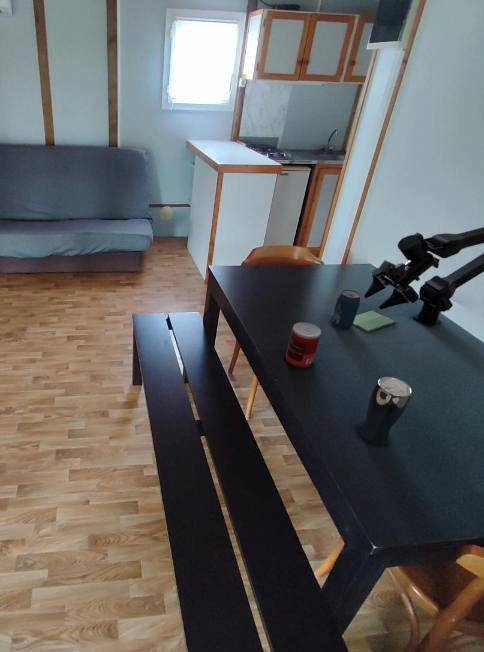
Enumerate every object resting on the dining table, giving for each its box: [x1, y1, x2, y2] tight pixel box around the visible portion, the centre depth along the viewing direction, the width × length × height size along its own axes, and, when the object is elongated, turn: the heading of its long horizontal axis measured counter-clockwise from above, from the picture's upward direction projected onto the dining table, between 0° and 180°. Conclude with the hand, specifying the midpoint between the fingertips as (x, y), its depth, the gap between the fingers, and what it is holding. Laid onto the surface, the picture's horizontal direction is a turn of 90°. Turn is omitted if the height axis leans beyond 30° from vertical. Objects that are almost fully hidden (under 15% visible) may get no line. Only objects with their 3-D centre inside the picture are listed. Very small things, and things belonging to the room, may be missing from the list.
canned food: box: [285, 322, 322, 369], centre depth 118 cm, size 8×8×11 cm
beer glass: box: [358, 376, 413, 446], centre depth 92 cm, size 7×7×15 cm
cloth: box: [353, 310, 396, 333], centre depth 141 cm, size 14×9×1 cm, turn 117°
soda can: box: [330, 289, 362, 330], centre depth 135 cm, size 7×7×12 cm
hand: (371, 302), depth 135 cm, fingers open, 9 cm apart
